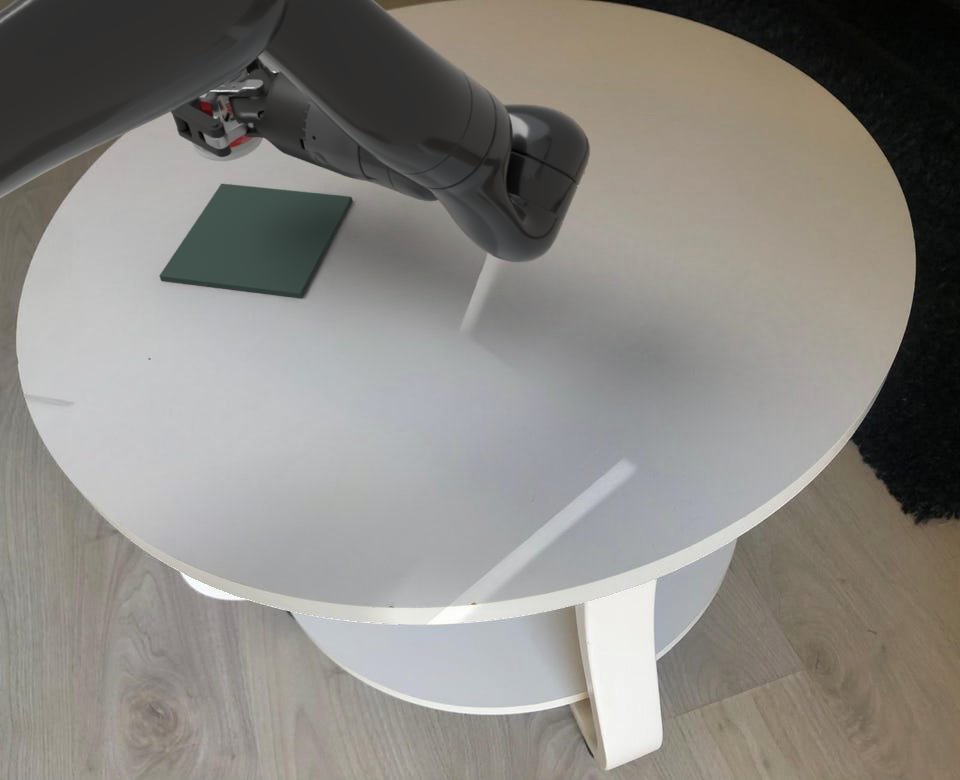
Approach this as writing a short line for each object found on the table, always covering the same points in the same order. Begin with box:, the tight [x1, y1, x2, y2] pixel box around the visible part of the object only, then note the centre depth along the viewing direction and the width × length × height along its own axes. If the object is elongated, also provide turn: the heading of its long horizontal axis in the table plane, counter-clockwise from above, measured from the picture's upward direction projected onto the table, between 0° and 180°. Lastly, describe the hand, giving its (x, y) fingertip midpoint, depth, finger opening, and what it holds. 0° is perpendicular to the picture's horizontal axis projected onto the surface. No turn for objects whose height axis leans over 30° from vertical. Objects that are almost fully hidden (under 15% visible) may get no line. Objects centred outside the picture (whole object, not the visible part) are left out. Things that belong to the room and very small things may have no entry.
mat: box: [159, 183, 353, 299], centre depth 94 cm, size 14×14×1 cm
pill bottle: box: [191, 68, 264, 162], centre depth 82 cm, size 6×6×11 cm
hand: (189, 69), depth 83 cm, fingers closed on pill bottle, 6 cm apart
